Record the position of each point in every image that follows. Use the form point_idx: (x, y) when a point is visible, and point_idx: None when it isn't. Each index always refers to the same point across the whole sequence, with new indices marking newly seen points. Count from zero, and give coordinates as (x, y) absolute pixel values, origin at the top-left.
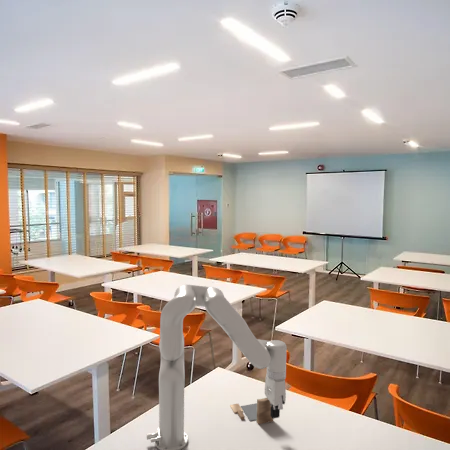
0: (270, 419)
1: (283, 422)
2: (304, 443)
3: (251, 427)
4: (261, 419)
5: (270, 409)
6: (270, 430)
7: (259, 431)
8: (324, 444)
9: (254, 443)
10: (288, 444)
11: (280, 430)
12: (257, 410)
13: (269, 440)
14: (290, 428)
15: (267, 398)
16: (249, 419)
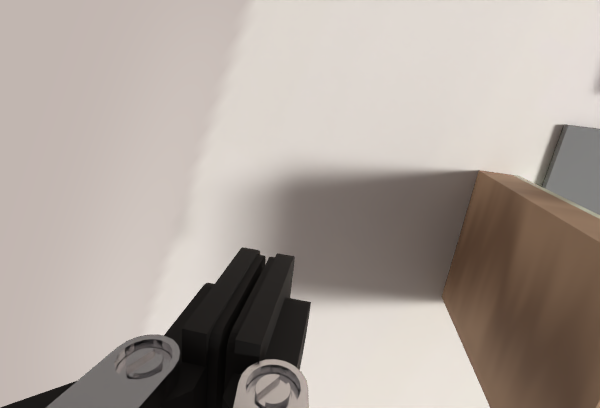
0: (454, 286)
1: (391, 347)
2: (164, 325)
3: (475, 90)
4: (484, 212)
5: (489, 348)
6: (359, 217)
7: (390, 130)
8: None
9: (276, 5)
10: (184, 240)
11: (326, 279)
12: (574, 211)
13: (262, 146)
14: (314, 344)
15: None
16: (586, 129)
